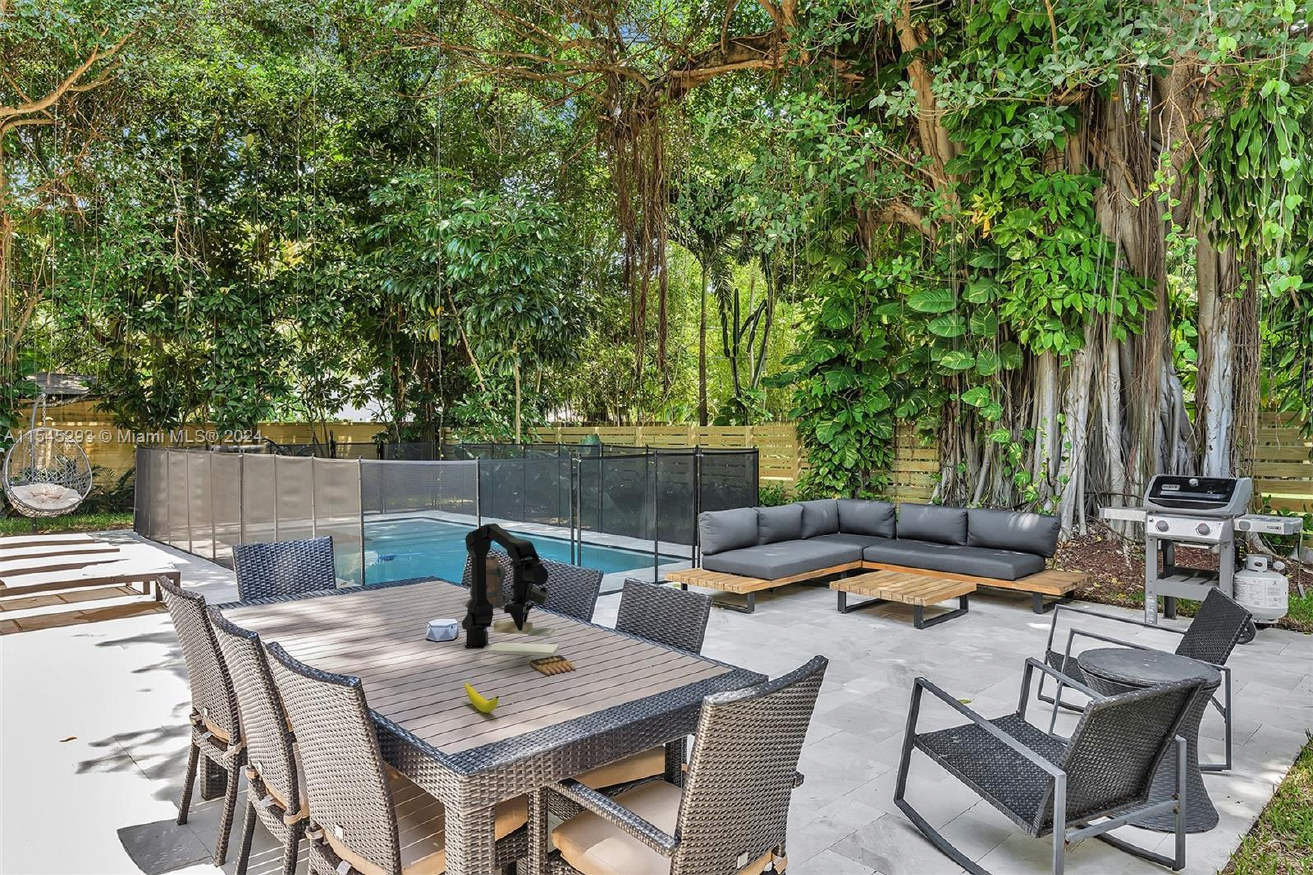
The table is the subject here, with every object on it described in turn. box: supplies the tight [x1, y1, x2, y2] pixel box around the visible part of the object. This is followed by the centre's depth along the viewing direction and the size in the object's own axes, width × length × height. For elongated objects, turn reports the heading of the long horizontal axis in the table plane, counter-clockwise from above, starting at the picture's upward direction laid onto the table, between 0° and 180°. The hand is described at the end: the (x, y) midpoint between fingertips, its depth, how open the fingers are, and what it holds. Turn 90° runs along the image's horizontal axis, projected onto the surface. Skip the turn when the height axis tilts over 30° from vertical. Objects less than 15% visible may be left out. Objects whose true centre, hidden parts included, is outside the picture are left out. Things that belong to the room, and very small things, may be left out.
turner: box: [493, 620, 556, 637], centre depth 246 cm, size 19×6×3 cm, turn 80°
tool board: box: [487, 642, 560, 657], centre depth 259 cm, size 22×9×1 cm, turn 84°
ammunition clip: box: [529, 654, 577, 676], centre depth 240 cm, size 11×2×12 cm
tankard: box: [465, 555, 511, 610], centre depth 323 cm, size 24×17×20 cm
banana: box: [464, 682, 500, 714], centre depth 205 cm, size 3×19×6 cm, turn 39°
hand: (521, 629), depth 246 cm, fingers closed on turner, 3 cm apart
